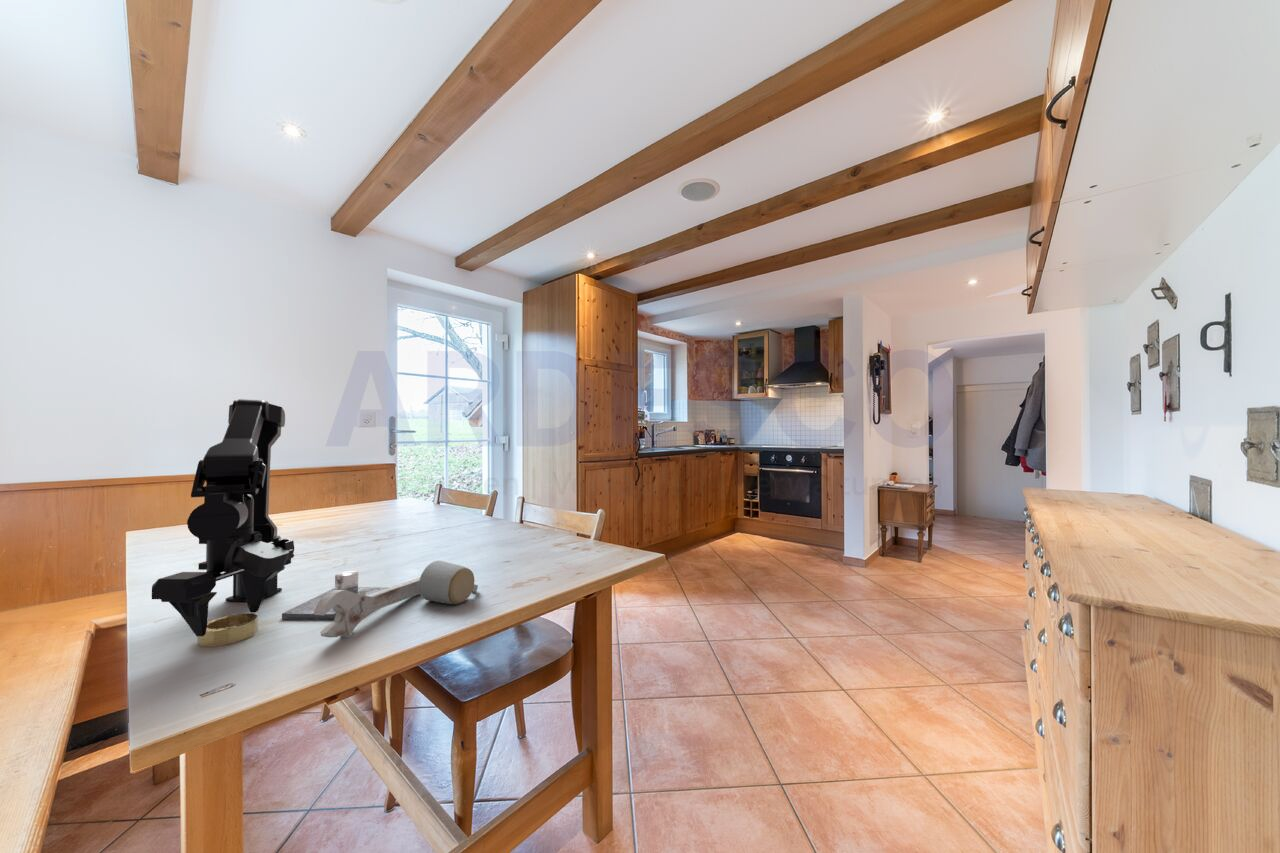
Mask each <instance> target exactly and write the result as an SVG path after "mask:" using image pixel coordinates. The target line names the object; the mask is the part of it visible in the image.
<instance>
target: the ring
mask: <svg viewBox="0 0 1280 853" xmlns="http://www.w3.org/2000/svg"><path fill="white" fill-rule="evenodd" d="M258 622H259V615H257V614H256V613H251V612H248V613H247V612H245V613H235V614H230V615H224V616H222V617H217V618H214V619H211V620H209V621H207V629H206V634H205V635H204V636H197V645H199V646H200V647H202V648H203V647H204V648H205V647H208V648H215V647H220V646H227V645H231V644H235V643H238V642H241V641H244V640H246V639H248V638H250V637H252V636H254V635H255V634H256V633H257V632H258V629H259V628H258V627H259V625H258V624H259V623H258Z"/></svg>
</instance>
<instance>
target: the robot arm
mask: <svg viewBox="0 0 1280 853" xmlns="http://www.w3.org/2000/svg"><path fill="white" fill-rule="evenodd" d="M227 419H228V420H227V421H228V422H227V423H228V425H227V428H226V432H225V434H224V437H223V439H222V441H221V442H219V443H217V444H214V445H213V446H210V447H209V448H208V450H206V451H207V452H206V453H205V455H204V457H203V459H200V460H199V461H198V463H197V468H196V471H195V475H194V479H193V484H192V487H191V488H192V489H191V493H190V498H191V499H192V498H204V501H203V503H202V504H200V505H198V506H196V508H194V509H193V510H192V511H191V513H190V514H189V516H188V518H187V521H186V522H187V523H186V525H187V528H188V531H189V532H190V533H191V534H192V535H193V536H194V537H196V538H197V539H198V544H199V545H206V546H205V552H206V553H205V561H202V562H200V563H199V562H198V568H197V569H198V571H181V572H177V573H174V574H171V575H168V576H167V575H166V576H164V577H160V578H158V579H157V580H155V582H154V583H153V584H152V585H151V600H160V601H161V602H162V603H169V604H170V605H171V606H172V607H173V608H174V609H175V610H176V611H177V612H178V613H179V615H180V616H181V617H182V619H183V620H184V622H186V624H187V625H188V626H189V629H191V631H192V632H193V634H194V635H195V636H196V637H198V636H204V635H205V634H206V629H207V622H208V620H209V618H208V617H209V604H210V601H212V599H213V598H214V597H215V596H216V595H217V593H218V592H217V591H213V590H214V588H215V587H216V585H217V582H218V581H221V580H225V579H227V578H230V577H233V580H232V595H231V596H228V597H226V598H225V602H246V603H247V607H248V610H249V613H254V614H256V613H258V611H259V609H260V608H261V604H262V602H263V600H264V599H265V598H267V597H270V596H272V595H274V594H278V593H279V592H282V591H283V588H282V587H278V574H280V572H282V571H284V570H285V569H286V566H287V565H291V564H292V559H293V558H294V557H295V553H294V552H295V543H294V539H292V538H289V537H285V538H284V537H283V538H281V537H282V536H281V535H278V527H277V525H275V523H274V521H273V520H272V519H271V517H269V511H270V510H269V507H270V503H269V502H270V479H271V460H272V459H271V455H272V446H274V444H275V443H276V442H277V440H278V439H280V437H281V435H282V434H281V433H282V428H284V427H285V425H286V413H285V410H284V408H283V407H282V406H279V405H276V404H272V403H270V402H268V401H267V400H266V401H265V400H263V399H247V398H246V399H243V398H240V399H237V400H233V403H232V404H230V405H229V407H228V418H227ZM201 570H202V571H201Z"/></svg>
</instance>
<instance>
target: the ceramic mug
mask: <svg viewBox="0 0 1280 853" xmlns="http://www.w3.org/2000/svg"><path fill="white" fill-rule="evenodd" d="M419 578H420V580H419V592H420V594H419V595H420V597H421V598H422V599H424V600H425V601H430V602H435V603H441V604H442V603H443V604H447V605H459V604H462V603H464V602H465V601H467V599H469V597H470V596H471V594H472V593H473V594H474V593H476V592H478V589H479V588H478V587H479V585H478V584H475V582H476V581H475V574H474V572H473V571H472V570H471V569H470V568H468V567H466V566H463V565H459V564H455V563H452V562H447V561H444V560H434V561H433V562H430V563H429V564H428V565H427V566H426V567H425V568H424V569H423V571H422V573H421V575H420V577H419Z"/></svg>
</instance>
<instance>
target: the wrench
mask: <svg viewBox="0 0 1280 853" xmlns="http://www.w3.org/2000/svg"><path fill="white" fill-rule="evenodd" d="M419 580H420V577H417V578H414V579H411V580H408V581H405V582H403V583H400V584H397V585H394V586H390V588H387V589H384V590H381V591H378V592H375V593H372V594H369V595H366V596H363V595H358V594H355V593H352V592H349V591H347V590H333V591H331V592H328V593H327V594H326V595H325V596H324V597H323V598H321V600H320V601H319V602H318V604H317V606H316V608H315V610H314V615H325V614H326V613H327V612H328V611H330V610H331V609H332V608H335V612H336V616H335V619H334V620H333V621H331V622H330V623H329V624H327V625H326V626H324V628H323V629H322V630H320V632H319V633H320V636H321V637H324V638H338V637H346V636H348V638H349V637H351V636H352V634H353V632H354V630H355V628H356V627H357V626H358V624H360V622H361V621H362V620H364V618H365V617H367V616H368V615H370V613H372V612H375V611H377V610H380V609H382V608H385V607H388V606H391V605H394V604H396V603H399V602H402V601H404V600H407V599H410V598H412V597H415V596H419V595H420V592H419Z"/></svg>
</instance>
